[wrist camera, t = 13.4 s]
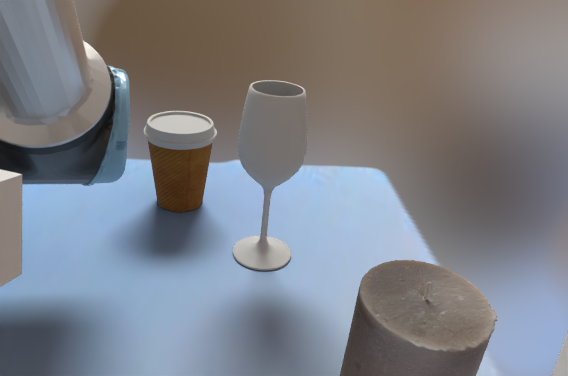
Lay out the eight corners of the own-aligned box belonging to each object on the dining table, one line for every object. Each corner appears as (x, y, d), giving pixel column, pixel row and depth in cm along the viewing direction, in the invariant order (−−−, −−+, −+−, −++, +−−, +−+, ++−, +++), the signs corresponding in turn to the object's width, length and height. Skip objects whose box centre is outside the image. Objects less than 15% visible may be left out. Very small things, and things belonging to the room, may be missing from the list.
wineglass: (263, 230, 68) (278, 75, 59) (304, 256, 64) (328, 93, 54) (218, 249, 63) (226, 83, 54) (260, 279, 59) (277, 104, 49)
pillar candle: (332, 372, 47) (358, 237, 40) (438, 387, 47) (482, 254, 40) (331, 472, 39) (363, 322, 32) (460, 491, 38) (522, 345, 31)
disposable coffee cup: (154, 183, 77) (153, 106, 71) (217, 189, 77) (221, 113, 72) (137, 214, 68) (134, 131, 63) (208, 221, 69) (211, 138, 63)
